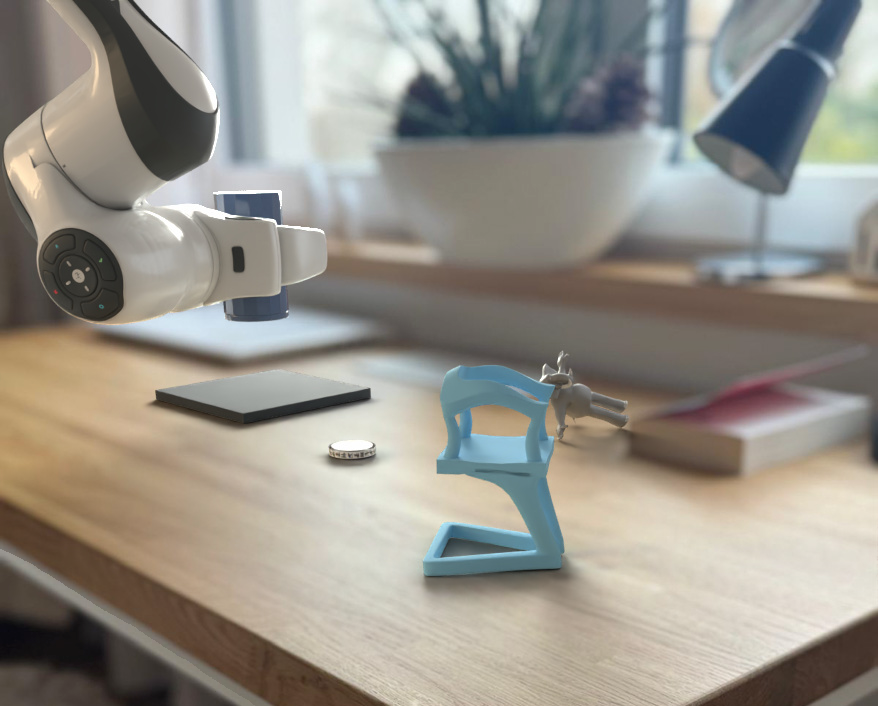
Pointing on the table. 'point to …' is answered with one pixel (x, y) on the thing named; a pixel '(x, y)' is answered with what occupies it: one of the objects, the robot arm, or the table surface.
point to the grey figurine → (579, 399)
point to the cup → (258, 207)
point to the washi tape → (352, 449)
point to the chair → (499, 472)
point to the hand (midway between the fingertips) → (256, 245)
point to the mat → (262, 395)
